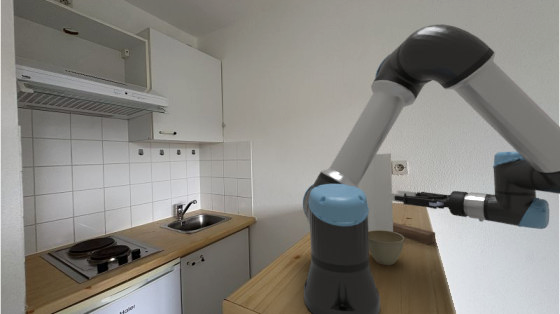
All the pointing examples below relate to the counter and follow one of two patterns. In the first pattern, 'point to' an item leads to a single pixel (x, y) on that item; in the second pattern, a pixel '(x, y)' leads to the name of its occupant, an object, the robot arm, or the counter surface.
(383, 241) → the flower pot
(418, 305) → the counter surface
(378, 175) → the riser
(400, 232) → the batten
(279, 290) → the counter surface
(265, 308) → the counter surface
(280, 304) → the counter surface
